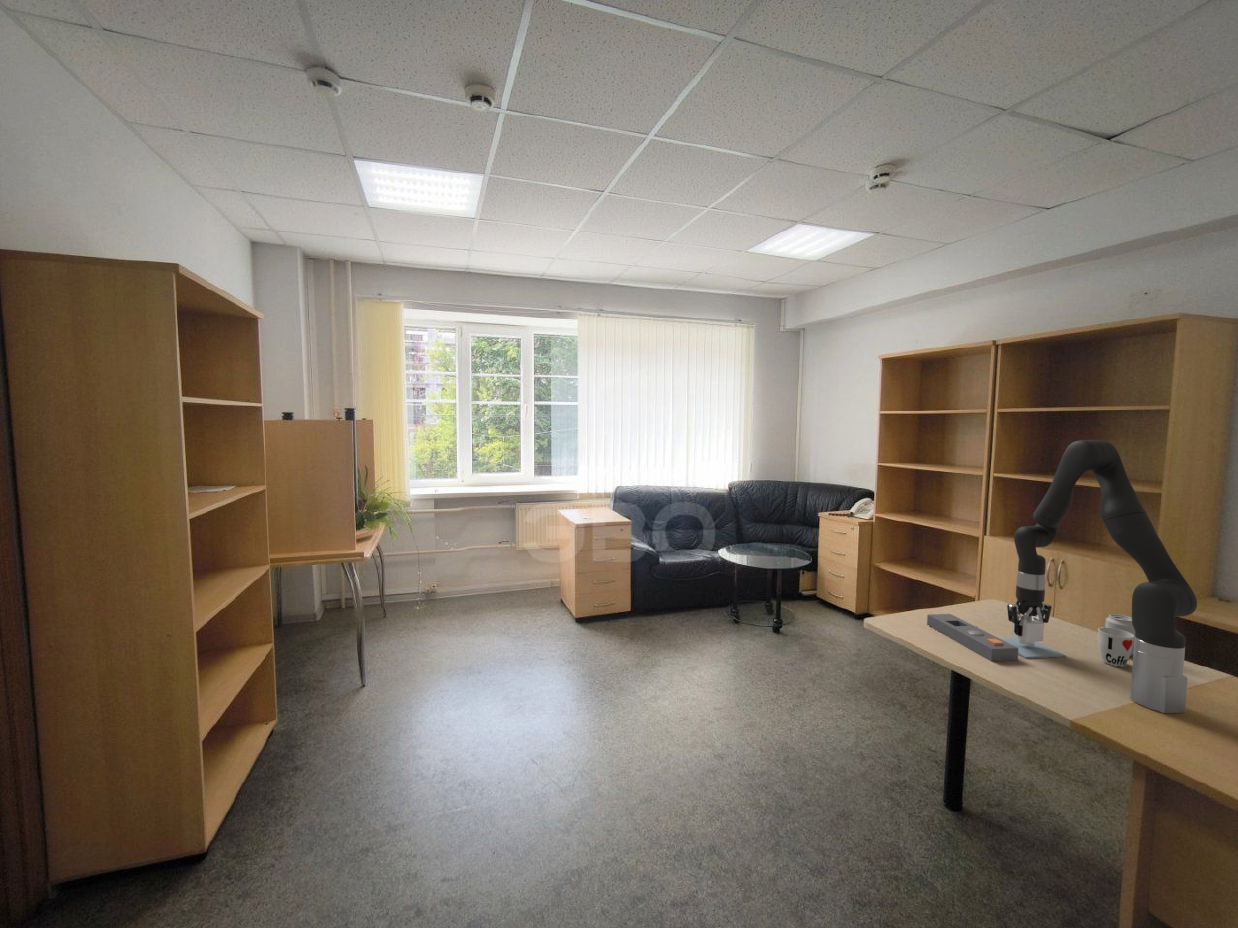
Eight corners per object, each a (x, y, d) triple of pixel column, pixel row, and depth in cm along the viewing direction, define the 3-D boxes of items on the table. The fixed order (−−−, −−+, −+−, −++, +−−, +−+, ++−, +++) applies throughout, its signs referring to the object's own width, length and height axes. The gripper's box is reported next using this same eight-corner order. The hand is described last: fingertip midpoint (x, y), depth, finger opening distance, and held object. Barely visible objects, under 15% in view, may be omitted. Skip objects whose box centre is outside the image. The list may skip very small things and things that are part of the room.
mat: (1065, 657, 165) (1066, 655, 165) (1025, 658, 164) (1025, 656, 164) (1028, 639, 179) (1028, 637, 179) (990, 640, 178) (990, 638, 178)
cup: (1101, 665, 159) (1103, 634, 158) (1092, 655, 166) (1094, 625, 165) (1136, 671, 155) (1138, 639, 155) (1125, 660, 162) (1127, 630, 162)
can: (1121, 648, 172) (1124, 613, 171) (1142, 658, 164) (1145, 621, 164) (1097, 647, 173) (1100, 612, 172) (1116, 656, 165) (1119, 620, 164)
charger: (1042, 646, 169) (1044, 618, 168) (1026, 647, 168) (1027, 619, 167) (1027, 639, 174) (1029, 612, 174) (1011, 639, 174) (1013, 612, 173)
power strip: (1017, 660, 162) (1018, 645, 162) (991, 661, 162) (991, 646, 161) (949, 624, 192) (950, 611, 192) (927, 624, 192) (927, 612, 191)
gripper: (1019, 589, 165) (1016, 640, 167) (1061, 588, 167) (1057, 638, 168) (1000, 582, 173) (998, 631, 174) (1040, 581, 174) (1037, 629, 175)
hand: (1027, 634), depth 171 cm, fingers closed on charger, 5 cm apart
